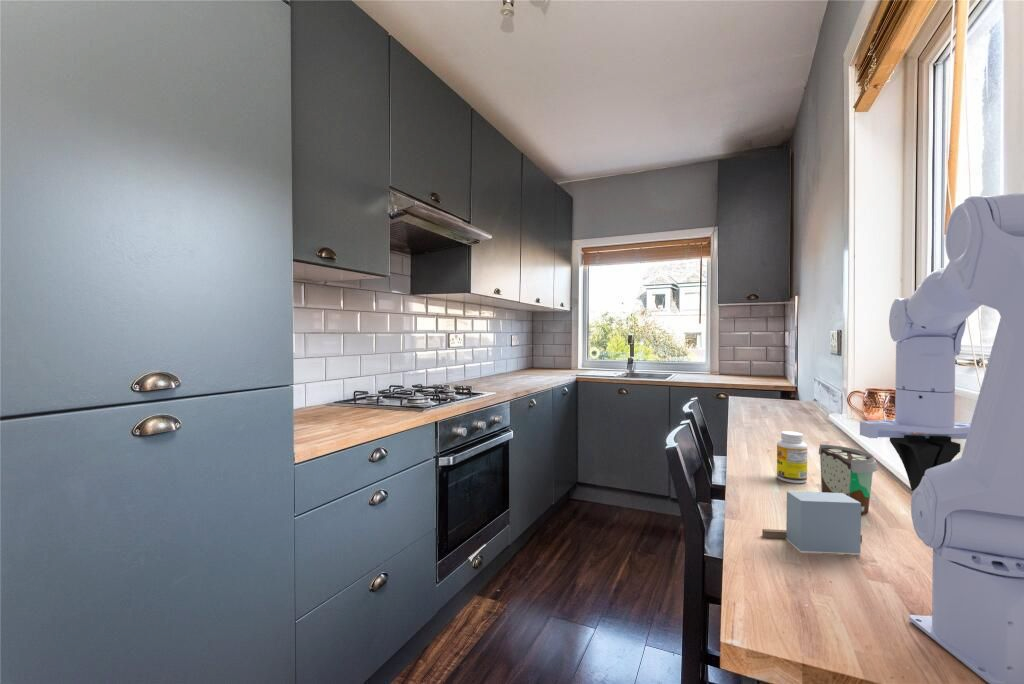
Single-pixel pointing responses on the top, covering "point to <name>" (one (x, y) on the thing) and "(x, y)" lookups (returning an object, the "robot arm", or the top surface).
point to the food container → (847, 473)
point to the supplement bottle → (792, 458)
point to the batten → (776, 533)
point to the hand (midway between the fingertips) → (922, 493)
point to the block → (823, 522)
